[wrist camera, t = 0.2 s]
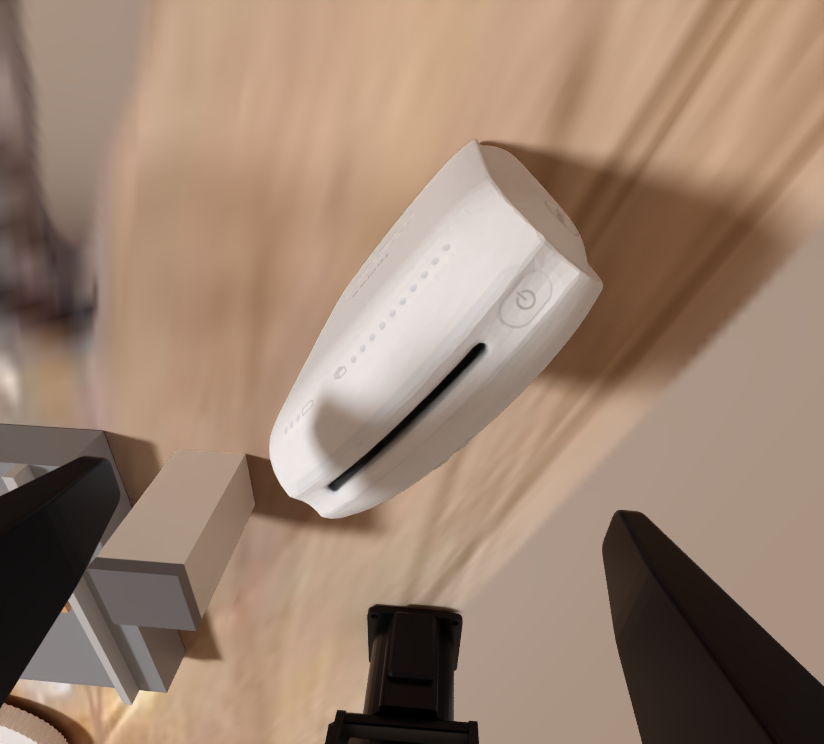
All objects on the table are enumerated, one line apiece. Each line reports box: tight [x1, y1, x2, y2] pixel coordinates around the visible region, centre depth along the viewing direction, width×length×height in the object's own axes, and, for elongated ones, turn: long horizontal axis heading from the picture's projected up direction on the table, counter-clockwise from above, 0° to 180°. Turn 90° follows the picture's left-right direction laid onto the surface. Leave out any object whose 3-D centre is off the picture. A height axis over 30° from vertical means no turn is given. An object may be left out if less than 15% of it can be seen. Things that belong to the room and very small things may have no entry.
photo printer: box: [269, 139, 603, 519], centre depth 16 cm, size 10×4×12 cm, turn 141°
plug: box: [87, 449, 255, 631], centre depth 26 cm, size 4×4×8 cm
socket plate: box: [0, 424, 186, 705], centre depth 32 cm, size 22×16×4 cm
